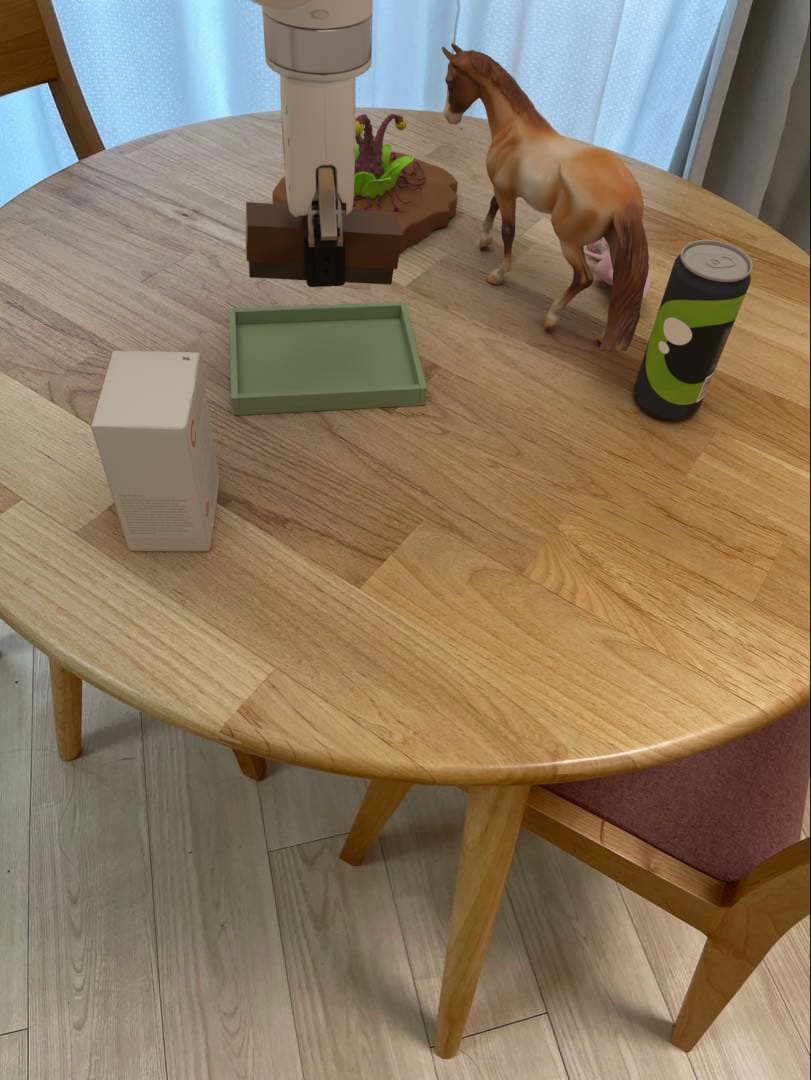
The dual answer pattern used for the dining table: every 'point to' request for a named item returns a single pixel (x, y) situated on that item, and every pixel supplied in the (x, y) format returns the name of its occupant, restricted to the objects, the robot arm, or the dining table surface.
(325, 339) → the tray
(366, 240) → the brown wooden block
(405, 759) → the dining table surface
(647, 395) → the beverage can
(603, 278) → the rabbit figure
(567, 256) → the horse figurine
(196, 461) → the small box
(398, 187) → the plant
